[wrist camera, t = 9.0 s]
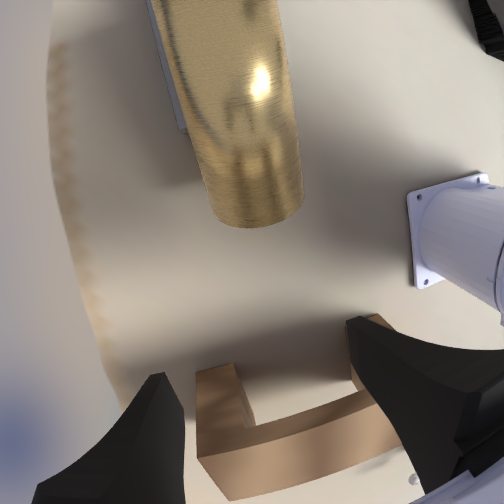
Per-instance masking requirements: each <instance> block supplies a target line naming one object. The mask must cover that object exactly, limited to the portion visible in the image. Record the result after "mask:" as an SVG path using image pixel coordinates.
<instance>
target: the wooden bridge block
mask: <svg viewBox="0 0 504 504" xmlns="http://www.w3.org/2000/svg"><path fill="white" fill-rule="evenodd" d="M367 319H369V320H371V321H373V322H375V323H378V324H380V325H382V326H384V327H387V328H389V329H392V330H394V331H396V330H395V329H394V328H393V327H392V326H391V325H390V324H388V323H387V322H386V321H385V320H384V319H383V318H382V317H381V316H380V315H379V314H377V315H374V316H372V317H369V318H367ZM345 330H346V337H347V345H348V353H349V344H348V335H347V326H345ZM396 332H397V331H396ZM349 361H350V354H349ZM350 369H351V378H352V382H353V384H354V385H355V387H356V388H357V390H358V392H356V393H353V394H351V395H348V396H346V397H343V398H340V399H338V400H335V401H332V402H330V403H327V404H324V405H321V406H319V407H316V408H313V409H310V410H307V411H304V412H301V413H298V414H295V415H292V416H289V417H285V418H282V419H279V420H275V421H272V422H268V423H265V424H261V425H258V426H256V423H255V418H254V414H253V411H252V409H251V406H250V404H249V401H248V399H247V396H246V394H245V391H244V389H243V386H242V384H241V381H240V379H239V376H238V374H237V371H236V369H235V366H234V363H231V364H227V365H224V366H220V367H216V368H213V369H209V370H205V371H201V372H197V373H196V445H197V459H198V461H199V462H200V463H201V465H202V466H203V468H204V469H205V470H206V472H207V473H208V474H209V476H210V477H211V479H212V480H213V481H214V483H215V484H216V485H217V486H218V488H219V489H220V490H221V492H222V493H223V494H224V496H225V497H226V498H227V499H228V501H234V500H239V499H244V498H249V497H254V496H258V495H262V494H266V493H271V492H274V491H278V490H282V489H286V488H289V487H293V486H296V485H300V484H303V483H306V482H309V481H312V480H316V479H319V478H322V477H324V476H327V475H330V474H333V473H336V472H339V471H341V470H344V469H347V468H349V467H352V466H354V465H357V464H359V463H362V462H364V461H366V460H369V459H371V458H373V457H376V456H378V455H380V454H382V453H385V452H387V451H389V450H391V449H393V448H395V447H397V446H399V445H401V444H402V442H401V440H400V438H399V437H398V435H397V433H396V431H395V429H394V427H393V426H392V424H391V422H390V421H389V419H388V418H387V416H386V415H385V414H384V412H383V411H382V409H381V408H380V407H379V405H378V404H377V403H376V401H375V400H374V399H373V397H372V396H371V394H370V393H369V392H368V390H367V389H366V388H365V386H364V385H363V383H362V382H361V381H360V379H359V377H358V375H357V373H356V371H355V369H354V368H353V366H352V364H351V362H350Z"/></svg>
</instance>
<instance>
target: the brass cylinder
mask: <svg viewBox="0 0 504 504" xmlns="http://www.w3.org/2000/svg"><path fill="white" fill-rule="evenodd" d="M151 3H152V6H153V10H154V14H155V17H156V21H157V25H158V28H159V32H160V35H161V39H162V43H163V46H164V50H165V53H166V57H167V60H168V64H169V67H170V71H171V74H172V78H173V81H174V85H175V88H176V91H177V95H178V98H179V102H180V105H181V108H182V112H183V115H184V119H185V122H186V125H187V129H188V132H189V135H190V138H191V142H192V145H193V148H194V152H195V155H196V158H197V161H198V165H199V168H200V171H201V174H202V178H203V181H204V184H205V187H206V190H207V194H208V197H209V200H210V203H211V206H212V209H213V212H214V214H215V216H216V217H217V218H218V219H219V220H220V221H221V222H223V223H225V224H227V225H230V226H233V227H239V228H258V227H264V226H268V225H272V224H275V223H277V222H280V221H282V220H284V219H286V218H287V217H289V216H291V215H292V214H293V213H294V212H295V211H297V210H298V208H299V207H300V206H301V204H302V202H303V199H304V187H303V177H302V168H301V159H300V150H299V141H298V133H297V125H296V117H295V110H294V102H293V95H292V88H291V81H290V75H289V68H288V62H287V55H286V49H285V43H284V37H283V31H282V26H281V20H280V14H279V9H278V4H277V0H151Z"/></svg>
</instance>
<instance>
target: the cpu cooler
mask: <svg viewBox="0 0 504 504" xmlns="http://www.w3.org/2000/svg"><path fill="white" fill-rule="evenodd" d="M469 2H470V3H469V4H470V8H471V12H472V13H473V17H474V21H475V25H476V28H477V30H476V32H477V33H479V34H478V35H477V36H478V37H479V38H478V40H480V42H479V43H481V44H483V45H485V48H486V54H488V55H490V56H492V57H496V58H497V59H499V60H502V61H504V0H469Z"/></svg>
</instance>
